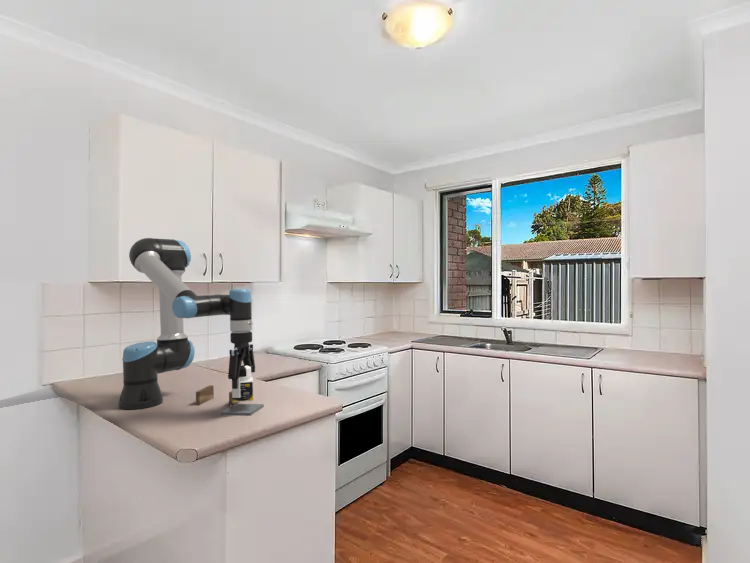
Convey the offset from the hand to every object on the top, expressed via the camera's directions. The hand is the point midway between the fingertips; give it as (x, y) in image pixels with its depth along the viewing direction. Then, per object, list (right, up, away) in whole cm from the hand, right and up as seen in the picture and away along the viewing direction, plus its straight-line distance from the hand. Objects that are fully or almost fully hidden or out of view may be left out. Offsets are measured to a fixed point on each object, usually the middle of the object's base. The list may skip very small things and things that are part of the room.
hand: (242, 393), depth 158 cm
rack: (-12, -6, +12) cm, 18 cm away
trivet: (0, -6, 0) cm, 6 cm away
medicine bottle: (0, -2, 0) cm, 2 cm away
